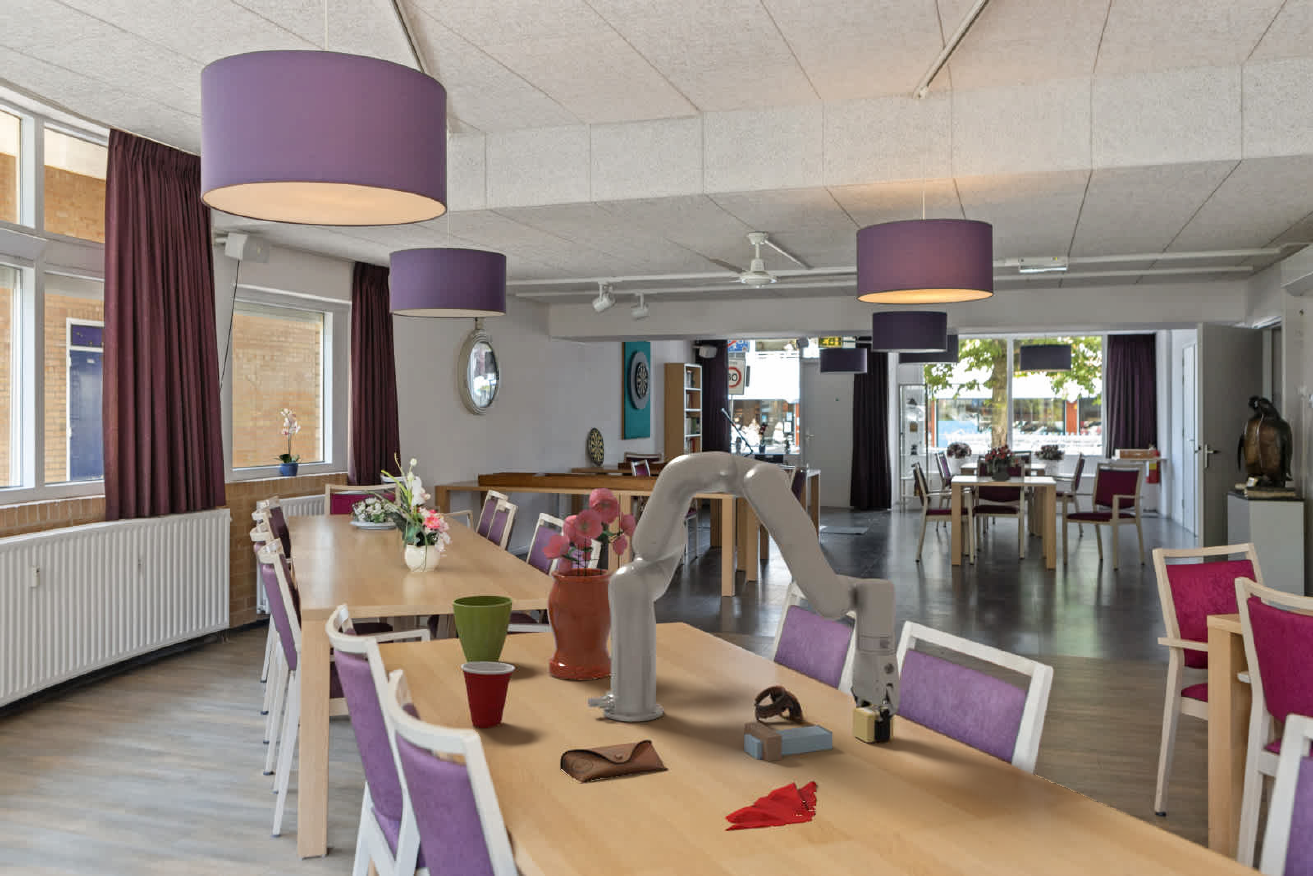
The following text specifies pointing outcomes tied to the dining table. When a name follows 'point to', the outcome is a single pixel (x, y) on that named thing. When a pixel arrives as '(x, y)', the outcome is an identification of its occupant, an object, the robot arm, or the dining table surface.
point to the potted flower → (583, 590)
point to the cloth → (777, 808)
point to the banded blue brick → (784, 741)
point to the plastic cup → (486, 691)
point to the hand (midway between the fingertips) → (873, 735)
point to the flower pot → (482, 626)
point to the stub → (867, 723)
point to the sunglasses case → (611, 761)
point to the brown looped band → (777, 704)
